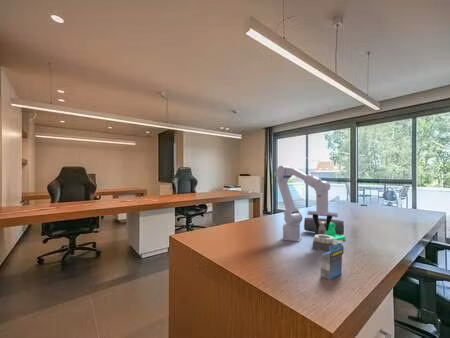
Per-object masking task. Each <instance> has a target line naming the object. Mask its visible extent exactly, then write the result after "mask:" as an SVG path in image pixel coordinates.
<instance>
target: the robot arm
mask: <svg viewBox="0 0 450 338" xmlns="http://www.w3.org/2000/svg"><path fill="white" fill-rule="evenodd" d="M275 173H276V177H277V178H276V179H277V181H276V182H277V185H278V188H279V192H280V194H281V198H282V201H283V205H284V208H285V210H284V212H283V215H284V217H283V219H284V221H285V223H283V225H282V240H284V241H291V242H301V240H302V237H301V232H300V231H301V223H302V221H303V216H302V215H303V214H301V212H300V210H299V209H298V208H297V207H296V205H295V203H294V200H293V196H292V193H291V190H290V188H289V187H290V186H289V184H288V182H289V180H290V179H291V177H293V176H295V177H297V178H298V179H301V180H302V181H303V182H304V184H305V185H307V186H309V187H311V188H312V189H314V191H315V194H316V195H315V197H316V202H315V203H316V204H315V205H316V207H315V208H316V210H307V216H312V217H311V218H313V219H314V221H315V224H316V227H317V230H318V218H319V216H321V217H326V219H327V231H328V228H329V224H330V221H331V219H333V218H339V213H338V212H332V211H331V212H330V211H329V191H330V189H331V184H330V183H329V182H328V181H327V180H323V179H322V178H319V177H316V176H315V175H314V174H312V173H311V174H309V173H308V174H306V173H304V172H303V171H301V170H299V169H297V168H296V167H294V166H292V165H279V166H278V167H277V169H276V171H275Z"/></svg>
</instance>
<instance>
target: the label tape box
mask: <svg viewBox="0 0 450 338" xmlns="http://www.w3.org/2000/svg"><path fill="white" fill-rule="evenodd" d="M336 247H338V249H336V250H334V248H336ZM329 248H330V251H327V252H324V253H322V254H321V255H320V277H322V278H324V279H326V280H328V281H331V280H333V279H334V278H336V277H338V276H340V275H342V273H343V272H342V266H343V265H342V264H343V253H342V243H339V244H336V245H333V246H329Z"/></svg>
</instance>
